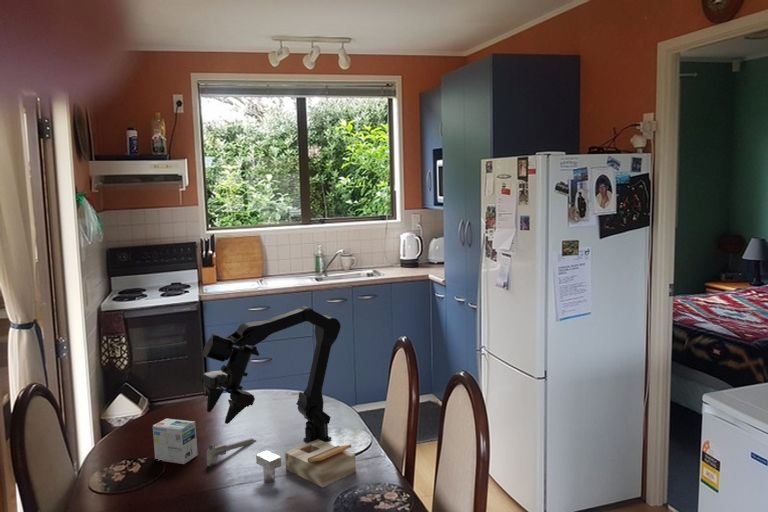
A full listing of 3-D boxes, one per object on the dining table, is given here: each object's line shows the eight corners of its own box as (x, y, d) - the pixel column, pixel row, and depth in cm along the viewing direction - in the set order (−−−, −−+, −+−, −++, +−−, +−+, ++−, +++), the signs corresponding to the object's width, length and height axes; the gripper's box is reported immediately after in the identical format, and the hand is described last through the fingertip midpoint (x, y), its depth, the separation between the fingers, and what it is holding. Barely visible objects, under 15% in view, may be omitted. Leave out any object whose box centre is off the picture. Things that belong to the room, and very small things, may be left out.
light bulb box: (198, 455, 188) (196, 420, 187) (184, 465, 182) (182, 429, 180) (168, 451, 192) (166, 417, 190) (153, 460, 185) (151, 425, 184)
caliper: (209, 468, 180) (208, 447, 179) (207, 467, 180) (205, 446, 180) (256, 441, 198) (255, 422, 197) (253, 440, 198) (252, 421, 197)
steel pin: (268, 474, 174) (266, 450, 173) (282, 481, 170) (280, 457, 169) (257, 479, 172) (256, 454, 171) (271, 486, 167) (269, 461, 166)
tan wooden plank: (307, 462, 170) (306, 458, 170) (338, 449, 178) (337, 445, 178) (321, 460, 166) (320, 456, 166) (351, 447, 174) (350, 443, 174)
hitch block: (285, 469, 177) (285, 452, 177) (318, 455, 186) (318, 439, 185) (322, 487, 166) (322, 469, 165) (355, 471, 174) (355, 454, 174)
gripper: (196, 351, 182) (176, 403, 180) (233, 371, 169) (212, 427, 168) (227, 357, 190) (208, 407, 188) (264, 377, 178) (244, 430, 176)
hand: (217, 417), depth 180 cm, fingers open, 9 cm apart
